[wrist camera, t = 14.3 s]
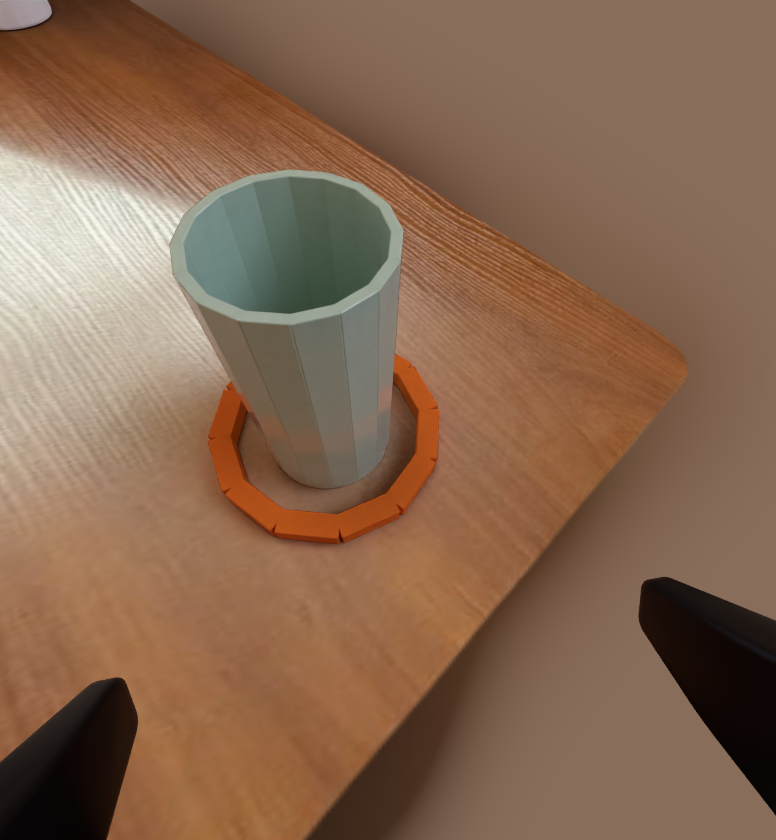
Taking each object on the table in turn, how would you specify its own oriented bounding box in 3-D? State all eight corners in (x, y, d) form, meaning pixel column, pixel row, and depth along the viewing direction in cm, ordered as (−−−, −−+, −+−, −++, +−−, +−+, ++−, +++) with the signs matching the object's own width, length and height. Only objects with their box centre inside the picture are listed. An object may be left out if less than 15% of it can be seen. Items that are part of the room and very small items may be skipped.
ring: (431, 553, 21) (434, 548, 19) (188, 529, 21) (178, 523, 20) (439, 356, 26) (441, 344, 25) (249, 339, 27) (244, 326, 26)
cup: (353, 510, 21) (328, 360, 10) (246, 455, 23) (117, 267, 11) (408, 411, 24) (438, 208, 13) (311, 367, 26) (261, 148, 14)
